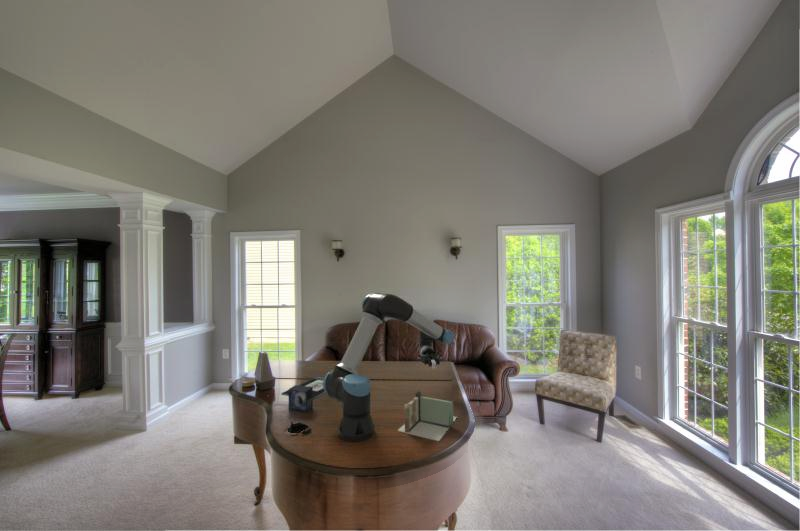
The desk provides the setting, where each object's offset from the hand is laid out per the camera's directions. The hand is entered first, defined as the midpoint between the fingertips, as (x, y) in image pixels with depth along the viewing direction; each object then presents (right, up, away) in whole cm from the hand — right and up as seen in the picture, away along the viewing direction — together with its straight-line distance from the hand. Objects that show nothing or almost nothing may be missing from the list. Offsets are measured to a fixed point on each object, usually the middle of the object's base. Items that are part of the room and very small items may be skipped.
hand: (434, 366), depth 155 cm
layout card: (-4, -24, -8) cm, 25 cm away
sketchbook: (-68, -26, +39) cm, 82 cm away
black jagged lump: (-62, -25, -14) cm, 68 cm away
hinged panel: (0, -22, -9) cm, 24 cm away
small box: (-67, -25, +10) cm, 72 cm away
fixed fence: (-11, -24, -10) cm, 28 cm away
